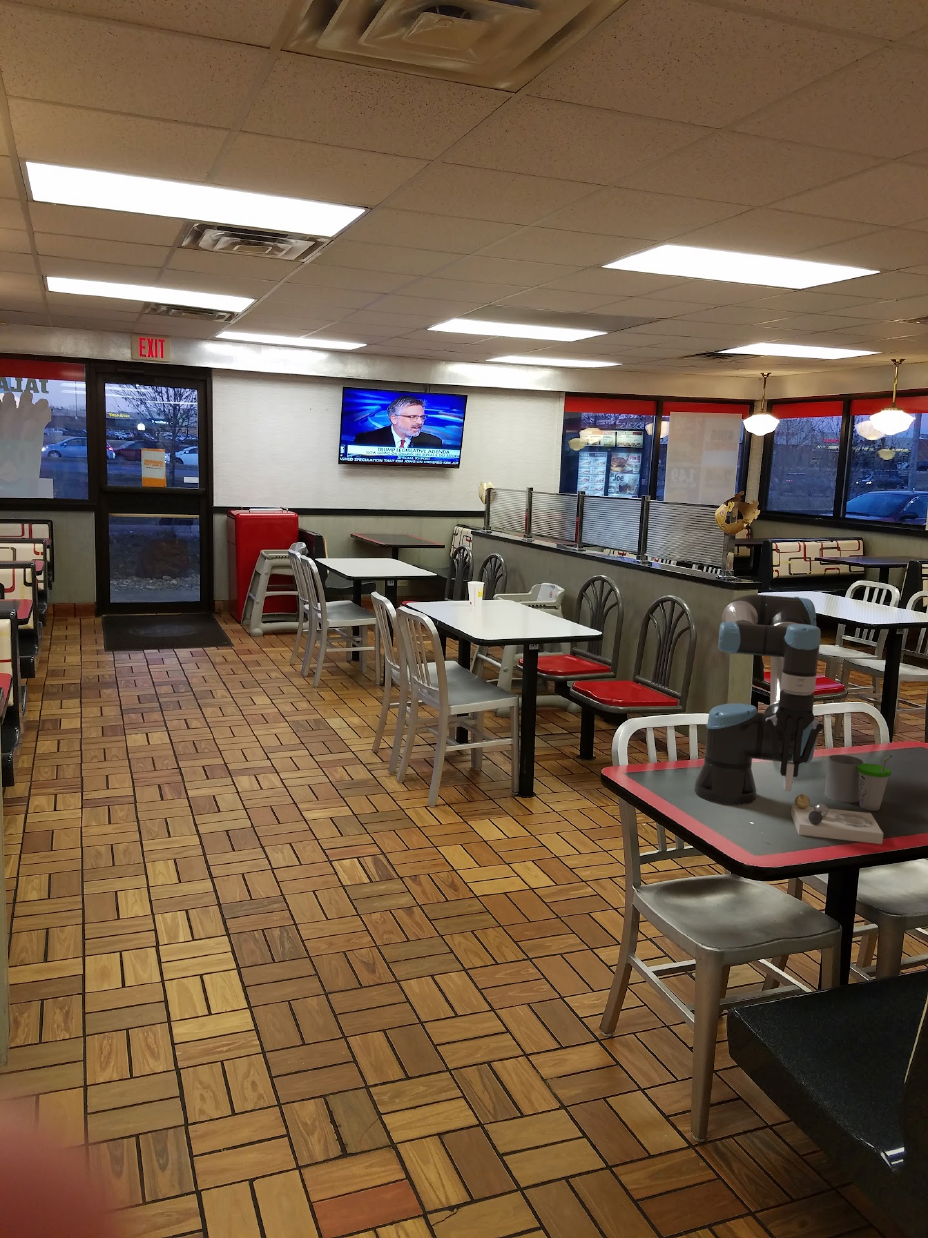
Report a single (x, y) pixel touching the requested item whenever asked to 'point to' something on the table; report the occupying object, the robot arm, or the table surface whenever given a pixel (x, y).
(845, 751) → the table surface
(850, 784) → the cup
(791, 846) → the table surface
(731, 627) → the robot arm
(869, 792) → the cup
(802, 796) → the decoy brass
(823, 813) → the steel ball
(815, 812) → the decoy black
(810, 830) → the plate
